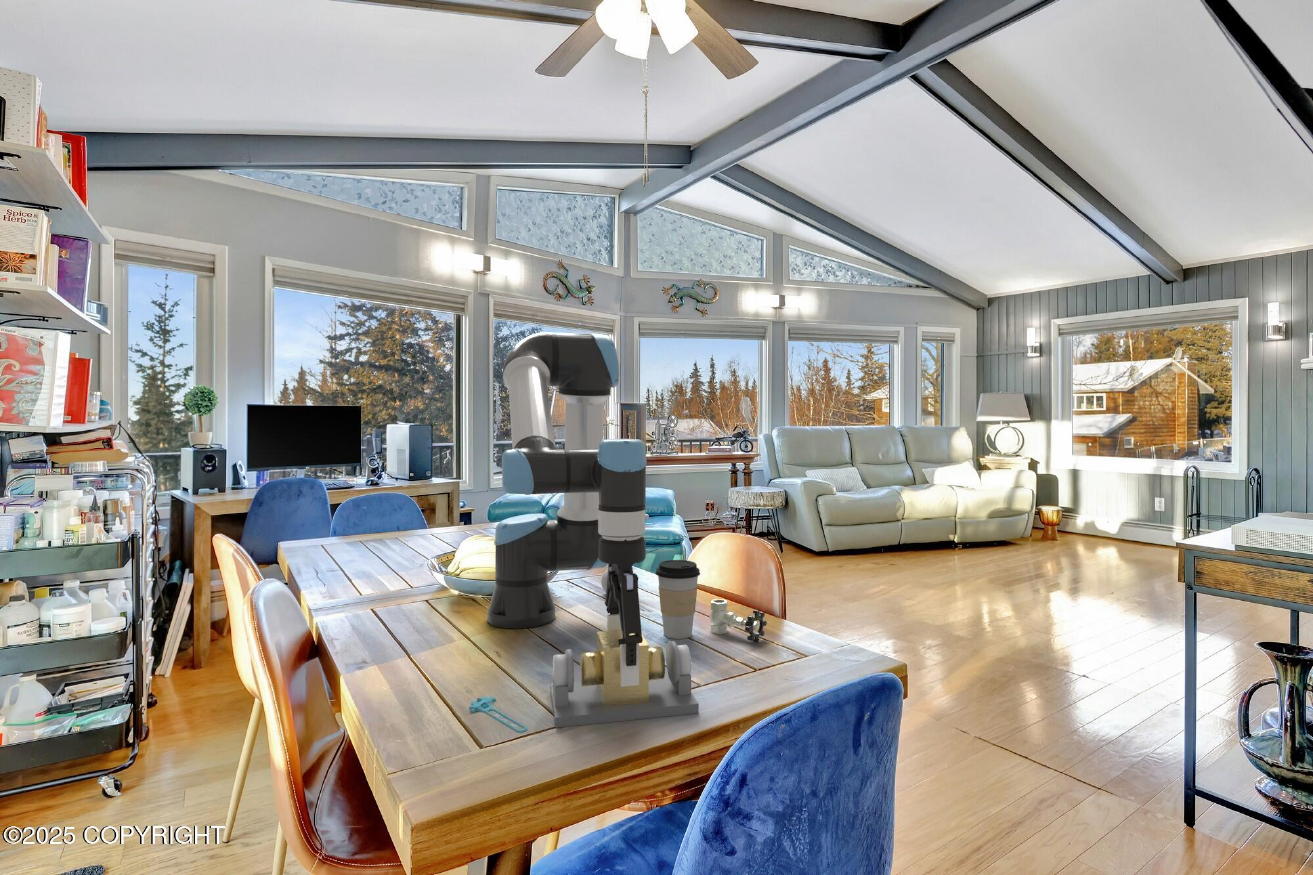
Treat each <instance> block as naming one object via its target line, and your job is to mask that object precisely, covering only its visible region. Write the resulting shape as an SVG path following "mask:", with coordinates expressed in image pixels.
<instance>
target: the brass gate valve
mask: <svg viewBox="0 0 1313 875" xmlns="http://www.w3.org/2000/svg"><path fill="white" fill-rule="evenodd" d="M629 635H635V634H629ZM642 637H643V640H642V643H639V685H634V686H623V687H621V685H620V645H618V643H617V642H618V639H622V633H621V630H614V631H607V630H603V631H601V630H600V631H596V651H590V652H589V651H586V652H580V653H579V675H580V676H579V677H580V682H581V685H582V686H592V685H597V687H598V690H599V693H600V696H601V699H602V702H603V705H604V707H607V706H617V705H627V704H637V703H648V702H649V680H658V679H664V676H665V675H666V658H665V654H664V650H663V648H662V646H651V647H650V646H649V645H650V644H649V643H648V641H647V640H646V639H645V636H644V635H643V634H642Z"/></svg>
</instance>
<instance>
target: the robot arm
mask: <svg viewBox="0 0 1313 875" xmlns="http://www.w3.org/2000/svg"><path fill="white" fill-rule="evenodd" d="M618 358H619V357H618V352H617V348H616V345H615V343H614V340H613V339H612V338H611V337H610V336H608V335H607V334H600V333H593V332H592V333H591V332H590V333H579V332H578V333H577V332H575V333H574V332H572V333H571V332H551V331H550V332H549V331H543V332H537V333H534V334H530V335H528V336H526V337H524V338H523V339H521V341H518V343H517V344H516V345H514V347H513V348H511V350H510V351H509V353H508V354H507V356H506V357H505V360H504V363H503V367H502V378H503V379H502V380H503V383H504V386H505V387H506V388H507V390H508V394H509V395H508V397H509V413H510V430H511V446H512V448H511V449H506V450H504V451H503V452H502V455H501V476H502V477H501V480H502V481H501V482H502V484H501V486H502V490H503V492H504V493H506V494H510V495H515V494H516V495H526V496H531V495H547V494H548V495H549V494H551V495H553V494H563V505H562V506H561V507H560V508H559V509H557V513H556V518H557V519H549V518H548V516H547V514H546V513H527V514H521V515H517V516H511V517H508V518H505V519H503V520H501V521H500V522H498V523H497V525H496V527H495V536H494V543H493V545H494V546H495V553H494V554H495V557H494V558H495V565H494V566H495V568H494V569H495V570H494V571H495V572H494V574H495V579H494V580H495V586H494V589H493V592H492V596H491V600H490V602H489V605H488V609H487V622H488V624H489V625H492V626H494V627H496V628H497V627H498V628H503V629H528V628H534V627H539V626H543V625H545V624H548V623H551V622H552V621H553V620H555V618H556V604H555V602H554V598H553V596H552V594H551V593H552V592H551V591H550V588H549V584H548V572H561V571H577V570H578V571H579V570H581V571H582V570H586V571H588V570H592V569H593V570H594V569H601V568H605V567H607V569H608V577H607V590H606V592H605V601H604V605H605V607H606V612H607V615H606V617H607V618H606V620H607V621H606V622H607V623H606V626H607V628H606V631H614V630H621V633H622V639H618V642H617V643H618V645H620V685H621V687H623V686H634V685H639V643H642V640H643V637H644V636H643V637H642V635H643V633H642V622H641V610H640V608H641V607H640V597H639V576H638V574H636V573H634V570H633V566H634V564H640V563H643V562H644V561H645V560H646V558H647V556H646V555H647V554H646V552H647V550H646V549H647V548H646V546H647V542H646V538H645V537H644V536H643V535H644V534H646V521H648V520H649V518H650V516H649V514H647V513H646V499H647V498H646V496H647V495H646V489H647V488H646V485H647V484H646V483H647V482H646V481H647V477H646V476H647V475H646V474H647V472H646V471H647V467H646V466H647V464H648V458H647V457H646V456H647V454H646V443H645V442H644V441H643V440H642V439H638V438H637V439H635V438H634V439H633V438H609V439H608V438H607V439H604V411H605V410H604V408H605V407H604V405H605V404H604V403H605V402H606V401H607V400H608V399H609V398H610V397H611V392H612V388H613V389H614V388H616V387H618V385H619V382H620V380H619V379H620V367H619V366H620V365H619V359H618ZM549 386H550V387H558V396H560V398H561V399H562V400H563V401H564V403H565V404H564V405H565V406H564V408H565V410H564V412H565V413H564V415H565V417H564V418H565V419H564V448H557V445H556V441H555V440H556V439H555V435H554V434H555V433H554V427H553V421H552V420H553V418H552V412H551V405H550V398H549V392H548V387H549ZM629 634H635V635H629Z"/></svg>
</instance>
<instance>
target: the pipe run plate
mask: <svg viewBox="0 0 1313 875" xmlns="http://www.w3.org/2000/svg"><path fill="white" fill-rule="evenodd" d="M574 665H575V664H574V655H573V649H571V648H569V649H565V653H564V654H562V653H561V654H554V655H553V656H552V684H550V699H551V705H552V714H553V720H554V727H555V728H556V729H557V728H566V727H576V726H578V727H579V726H584V725H586V726H588V725H596V724H604V723H605V724H606V723H615V722H623V721H624V722H626V721H634V720H643V719H644V720H645V719H652V718H653V719H655V718H662V717H663V718H664V717H673V716H684V715H692V714H693V715H694V714H699V713H700V711H699V710H700V708H699V704H700V703H699V702H698V700H697V698H696V697H695V695H694V694H693V693H692V658H691V651H690V648H689V646H688V644H679V645H678V644H677V642H676V641H675V640H673V641H668V642H667V644H666V648H665V665H666V671H667V674H665V676H664V679H658V680H649V702H648V703H637V704H627V705H617V706H607V707H604V705H603V702H602V699H601V696H600V693H599V690H598V687H597V685H592V686H582V685H581V681H579V682H575V668H574Z"/></svg>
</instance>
